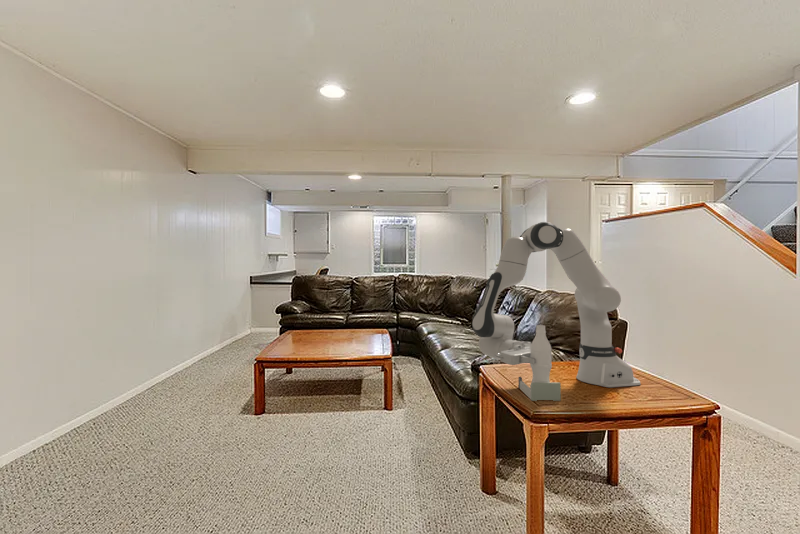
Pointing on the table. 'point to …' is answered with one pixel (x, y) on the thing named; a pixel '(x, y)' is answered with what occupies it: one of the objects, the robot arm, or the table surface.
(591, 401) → the table surface
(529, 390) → the bay
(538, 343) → the water bottle
